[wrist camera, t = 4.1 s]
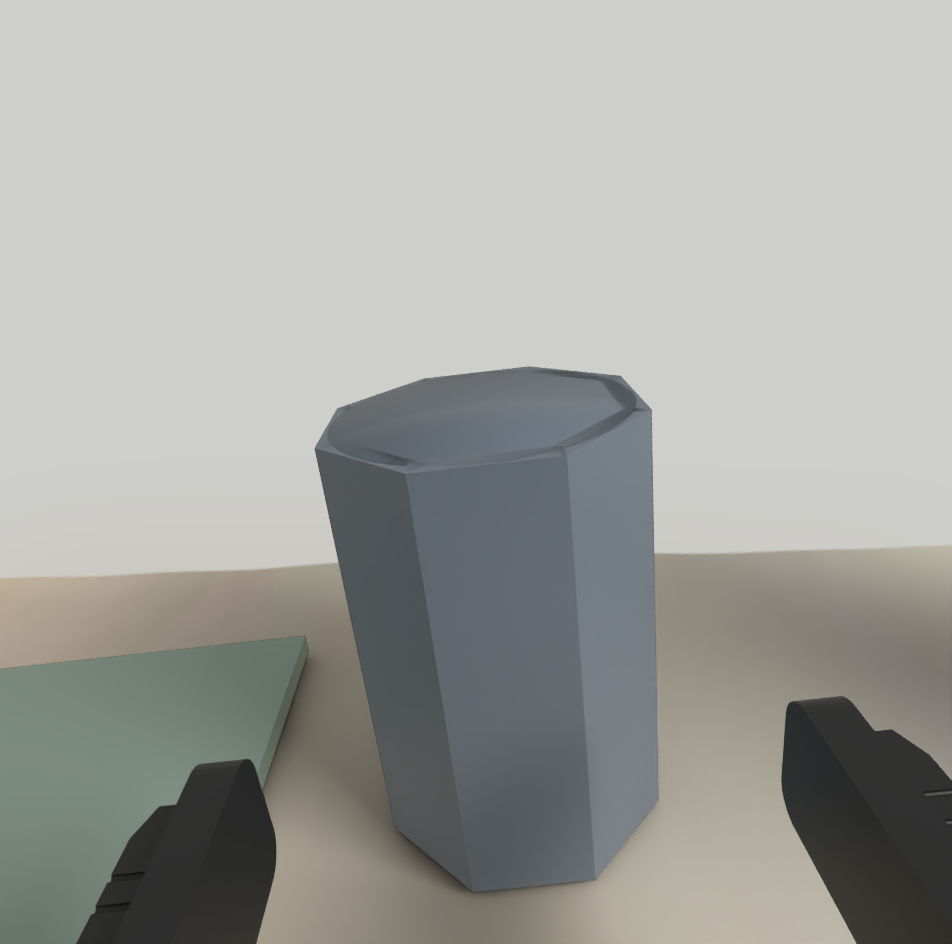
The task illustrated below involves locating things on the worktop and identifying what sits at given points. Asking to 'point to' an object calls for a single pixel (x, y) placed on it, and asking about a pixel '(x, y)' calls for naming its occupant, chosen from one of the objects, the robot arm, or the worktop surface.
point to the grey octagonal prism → (504, 613)
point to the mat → (118, 762)
